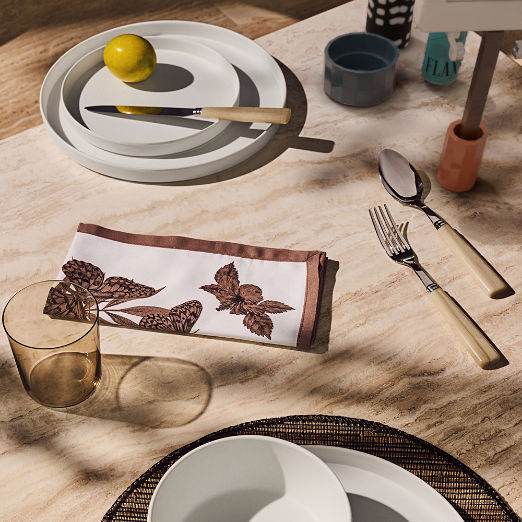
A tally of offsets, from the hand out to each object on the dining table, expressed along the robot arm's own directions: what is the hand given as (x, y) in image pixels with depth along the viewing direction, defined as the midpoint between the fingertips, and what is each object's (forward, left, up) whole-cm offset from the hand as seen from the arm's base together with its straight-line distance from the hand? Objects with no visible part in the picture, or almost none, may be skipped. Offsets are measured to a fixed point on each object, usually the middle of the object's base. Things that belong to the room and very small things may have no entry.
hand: (487, 57), depth 86 cm
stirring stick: (0, 0, -20) cm, 20 cm away
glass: (+5, -39, -21) cm, 44 cm away
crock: (0, 0, -21) cm, 21 cm away
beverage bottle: (-2, -25, -21) cm, 33 cm away
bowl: (+12, -24, -21) cm, 34 cm away
